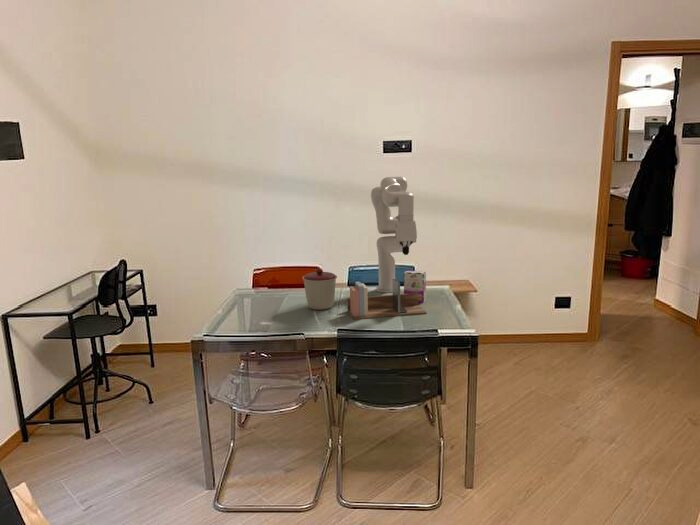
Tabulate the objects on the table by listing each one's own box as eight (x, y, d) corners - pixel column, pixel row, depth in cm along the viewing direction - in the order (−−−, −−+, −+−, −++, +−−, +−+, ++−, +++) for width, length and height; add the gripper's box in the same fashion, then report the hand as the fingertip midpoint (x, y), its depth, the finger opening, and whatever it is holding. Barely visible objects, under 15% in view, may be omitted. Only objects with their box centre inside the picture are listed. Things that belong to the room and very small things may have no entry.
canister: (333, 312, 269) (332, 272, 265) (299, 311, 272) (297, 271, 268) (341, 303, 286) (340, 265, 282) (308, 302, 290) (307, 264, 286)
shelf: (347, 311, 271) (347, 298, 270) (417, 305, 278) (417, 293, 277) (353, 319, 257) (353, 306, 256) (426, 313, 264) (426, 300, 262)
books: (350, 310, 269) (349, 282, 266) (363, 309, 270) (363, 281, 267) (354, 316, 259) (353, 286, 256) (368, 315, 260) (367, 285, 257)
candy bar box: (426, 301, 287) (426, 271, 283) (423, 303, 282) (423, 273, 279) (406, 299, 291) (406, 270, 288) (403, 301, 287) (403, 272, 283)
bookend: (392, 307, 272) (392, 279, 269) (401, 306, 273) (401, 278, 270) (398, 312, 262) (397, 283, 259) (407, 312, 263) (407, 282, 260)
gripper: (393, 219, 259) (393, 256, 263) (422, 218, 261) (422, 255, 265) (389, 217, 266) (389, 253, 270) (418, 216, 269) (417, 252, 273)
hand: (405, 254), depth 268 cm, fingers closed
